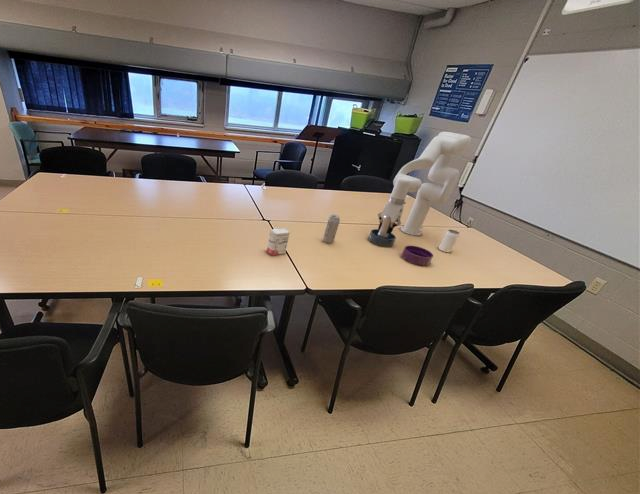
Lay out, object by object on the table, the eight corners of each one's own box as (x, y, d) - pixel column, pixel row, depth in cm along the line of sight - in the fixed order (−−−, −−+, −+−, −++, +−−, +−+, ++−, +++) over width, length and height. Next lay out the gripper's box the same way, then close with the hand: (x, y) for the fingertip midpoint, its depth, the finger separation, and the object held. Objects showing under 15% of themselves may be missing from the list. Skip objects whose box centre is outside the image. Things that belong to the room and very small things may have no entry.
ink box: (271, 255, 155) (275, 233, 149) (266, 251, 159) (270, 229, 152) (285, 253, 159) (290, 232, 153) (280, 249, 163) (284, 228, 156)
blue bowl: (378, 235, 195) (380, 228, 193) (397, 245, 186) (401, 237, 183) (363, 238, 188) (365, 230, 186) (382, 248, 179) (385, 240, 176)
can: (448, 249, 190) (458, 230, 183) (451, 253, 184) (461, 234, 178) (437, 246, 191) (446, 228, 185) (439, 250, 186) (448, 232, 179)
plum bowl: (411, 251, 180) (414, 244, 177) (434, 263, 170) (438, 255, 167) (396, 255, 173) (399, 247, 170) (419, 268, 163) (423, 259, 160)
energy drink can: (333, 244, 176) (341, 219, 167) (322, 242, 176) (329, 217, 168) (332, 240, 181) (340, 215, 173) (322, 238, 181) (329, 213, 173)
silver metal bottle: (387, 244, 184) (400, 211, 173) (375, 242, 185) (388, 209, 174) (385, 240, 189) (398, 208, 178) (373, 237, 190) (386, 205, 179)
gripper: (414, 205, 170) (401, 236, 179) (387, 195, 181) (376, 224, 191) (405, 206, 166) (393, 238, 176) (379, 196, 178) (368, 226, 187)
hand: (384, 230), depth 183 cm, fingers closed on silver metal bottle, 5 cm apart
